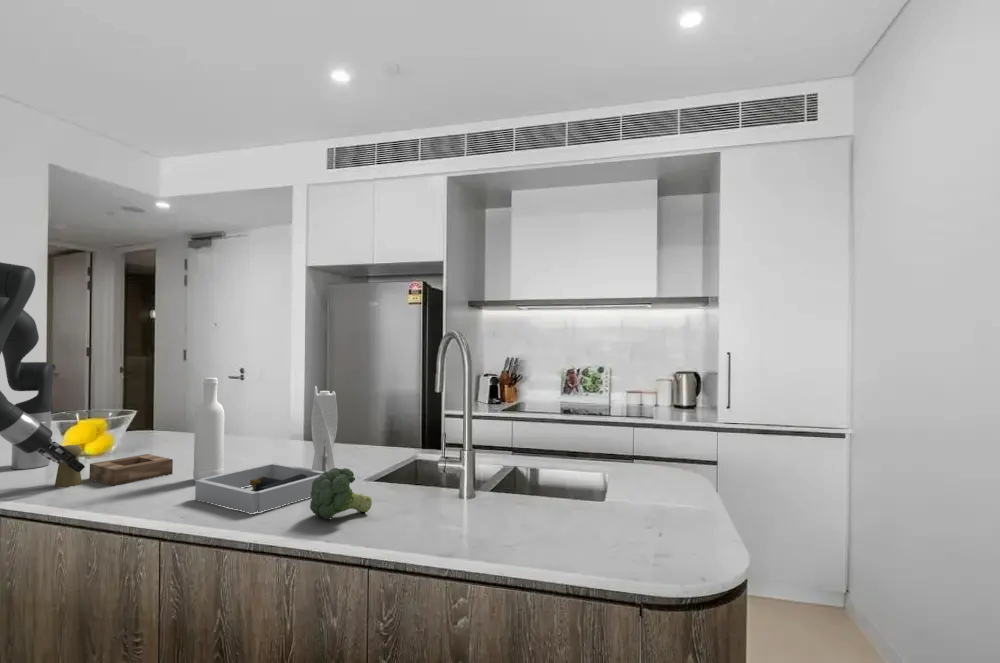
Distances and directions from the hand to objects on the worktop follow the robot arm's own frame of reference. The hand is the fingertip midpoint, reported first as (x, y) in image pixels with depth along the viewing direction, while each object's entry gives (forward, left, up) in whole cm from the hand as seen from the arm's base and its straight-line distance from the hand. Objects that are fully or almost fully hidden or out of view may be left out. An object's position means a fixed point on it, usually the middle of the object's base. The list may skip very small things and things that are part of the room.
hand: (75, 467), depth 153 cm
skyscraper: (+56, +39, -5) cm, 69 cm away
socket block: (+5, +12, -4) cm, 14 cm away
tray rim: (+55, +20, -4) cm, 59 cm away
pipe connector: (+58, +20, -5) cm, 62 cm away
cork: (0, -2, -5) cm, 5 cm away
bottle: (+27, +22, -5) cm, 35 cm away
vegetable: (+84, +19, -5) cm, 86 cm away
